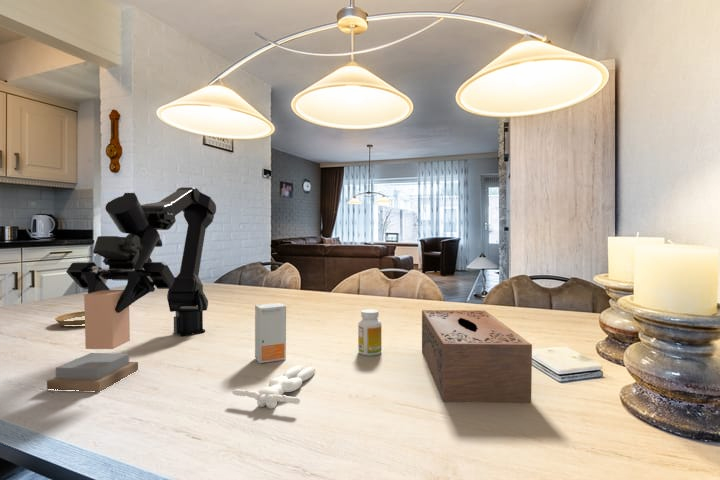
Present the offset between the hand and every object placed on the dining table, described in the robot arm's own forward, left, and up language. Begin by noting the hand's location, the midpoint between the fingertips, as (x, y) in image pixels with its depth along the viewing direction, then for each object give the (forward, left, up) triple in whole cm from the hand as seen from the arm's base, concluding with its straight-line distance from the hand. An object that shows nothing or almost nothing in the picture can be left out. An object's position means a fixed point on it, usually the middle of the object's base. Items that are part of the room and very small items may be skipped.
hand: (102, 311), depth 69 cm
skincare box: (-29, +10, -14) cm, 34 cm away
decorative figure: (-23, +26, -14) cm, 37 cm away
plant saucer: (-5, -59, -14) cm, 61 cm away
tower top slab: (+1, -3, -12) cm, 12 cm away
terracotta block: (-1, -1, -7) cm, 7 cm away
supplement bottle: (-48, +22, -14) cm, 55 cm away
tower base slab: (+1, -3, -14) cm, 15 cm away
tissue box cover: (-53, +44, -14) cm, 71 cm away
